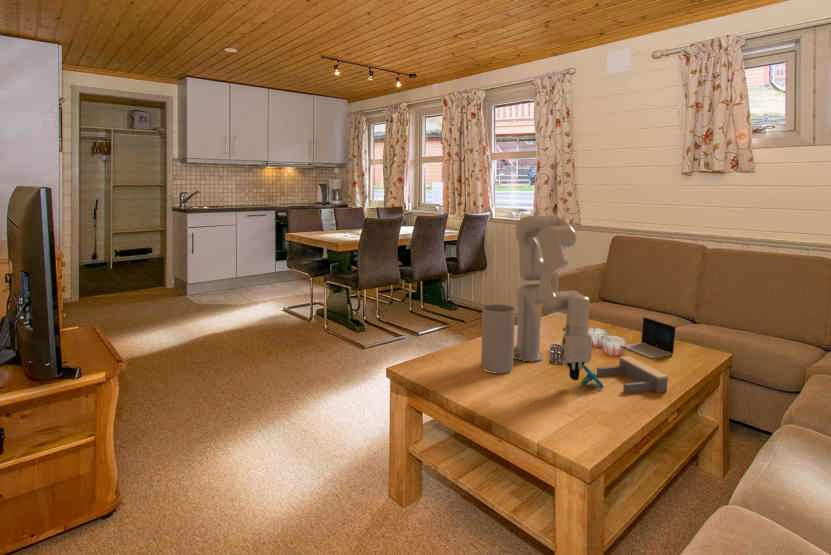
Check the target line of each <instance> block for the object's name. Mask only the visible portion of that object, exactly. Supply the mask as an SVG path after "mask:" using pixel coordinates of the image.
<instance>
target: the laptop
mask: <svg viewBox="0 0 831 555" xmlns="http://www.w3.org/2000/svg"><path fill="white" fill-rule="evenodd" d="M642 319H643V320H642V331H641V342H637V343H636V342H635V343H630V344H629V343H628V344H625V345H626V348H625V349H626V350H629V351H631V352H633V353H635V354H636V353H637V354H639V355H642V356H643V357H646V358H648V359H657V358H658V359H659V358H664V357H663V356H667V357H670V356H669V355H673V356H674V350H675V339H676V330H677V329H676V328H677V327H676V326H674V325H671V324H668V323H665V322H661V321H658V320H655V319H651V318H649V317H644V316H643V318H642Z"/></svg>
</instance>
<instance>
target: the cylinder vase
mask: <svg viewBox="0 0 831 555" xmlns="http://www.w3.org/2000/svg"><path fill="white" fill-rule="evenodd" d="M515 319H516V308H515V307H514V306H511V305H507V304H500V303H499V304H487V305H484V306H483V307H482V318H481V320H482V322H481V323H482V324H481V358H480V359H481V364H480V366H482V367H481V369H482V368H483V369H485V370H487V371H490V372H496V373H506V372H509V373H510V371H511V372H512V371H513V369H514V357H513V354H514V346H515V325H516V324H515V323H516V322H515V321H516V320H515ZM483 369H482V370H483ZM506 374H507V373H506Z"/></svg>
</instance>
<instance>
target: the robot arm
mask: <svg viewBox="0 0 831 555" xmlns="http://www.w3.org/2000/svg"><path fill="white" fill-rule="evenodd" d="M515 236H516V240H517V241H516V242H517V244H518V261H519V263H518V264H519V266H518V267H519V268H518V270H519V277H520V278H521V280H522V281H526V282H527V281H528V282H533V281H534V282H535V281H539V283H527V284H523V285H520V286H518V287H517V289H516V293H515V296H516V298H515V299H516V304H517V328H516V329H517V330H516V332H517V333H516V345H514V354H513V356H514V357H515V358H517V359H520V360H525V361H537V362H540V361H542V360H543V359H544V355H543V354H542V353H541V352H540V346H541V327H542V324H541V323H542V318H541V314H540V313H539V311H538V310H537V308H539V307H543V308H544V309H545V311H547V312H549V313H561V312H562V313H564V312H566V320H565V327H563V328H562V332H564V333H563V337H562V339H561V346H560V359H561V360H560V364H562V365H563V366H567V367H568V368H569V374H568V375H569V378H570V379H571V380H573V381H579V377H580V370H581V369H582V368H583V366H584V365H585V364H588V363H590V361H591V360H592V355H593V354H592V353H593V350H592V340H591V339H592V338H591V337H592V336H591V334H590V333H589V321H590V319H589V318H590V305H591V304H590V303H591V301H590V298H589V297H588V296H586V295H582V294H581V293H580V292H578V291H576V290H559V271H562V270H564V269H565V268H566V267H568V265H569V259H568V256H567V255H568V254H567V251H566V248H571V247H573V246H575V244H576V241H577V232H576V231H575V229H574V228H573V226H572V225H571V224H570V223H568V222H567V221H565V220H564V219H562V218H561V217H559V216H557V215H530V216H524V217H521V218H520V219H518V220H517V223H516V226H515ZM537 237H538V238H537ZM536 238H537V239H538V241H537V239H536ZM541 254H542V257H541ZM514 357H513V358H514ZM515 358H514V359H515ZM517 359H516V360H517ZM520 360H519V361H520ZM539 360H540V361H539Z"/></svg>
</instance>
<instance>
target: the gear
mask: <svg viewBox="0 0 831 555" xmlns="http://www.w3.org/2000/svg"><path fill="white" fill-rule="evenodd" d="M582 368H583V370H584V371H585V372H586V373H587V374H586V376H585V377H584V378H583V379H582V383H581V384H582V386H583V387H585V386H586V384H588V383H589V382H592V381H594V382H596V384H597V386H600V387H601V388H604V384H602V382H601V380H599V378H598V376H597V374H595V373H593V372H592V370H591V369H590V368H588V366H586V365H585V364H584V365H583V366H582Z"/></svg>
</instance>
